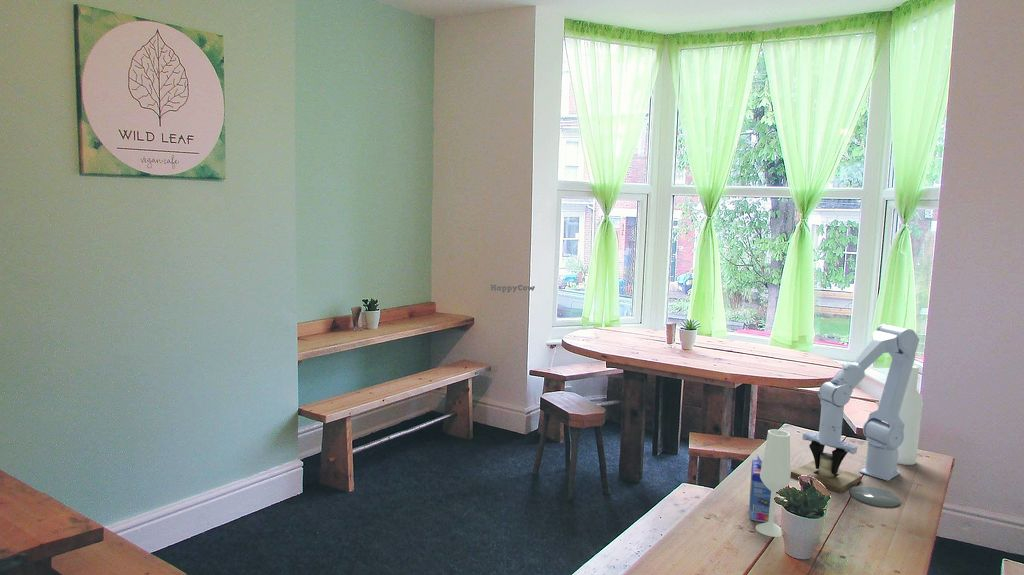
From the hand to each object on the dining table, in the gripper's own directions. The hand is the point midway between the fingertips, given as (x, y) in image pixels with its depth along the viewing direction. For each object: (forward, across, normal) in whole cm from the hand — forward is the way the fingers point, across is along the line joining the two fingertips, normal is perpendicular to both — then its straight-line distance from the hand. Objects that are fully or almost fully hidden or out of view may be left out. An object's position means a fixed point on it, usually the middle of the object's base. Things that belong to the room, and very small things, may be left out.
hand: (826, 470), depth 194 cm
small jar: (+2, 0, 0) cm, 2 cm away
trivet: (+2, +14, -2) cm, 14 cm away
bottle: (+3, +8, +35) cm, 36 cm away
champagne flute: (+3, +6, -43) cm, 44 cm away
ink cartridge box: (+3, 0, -37) cm, 37 cm away
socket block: (+2, 0, 0) cm, 2 cm away
